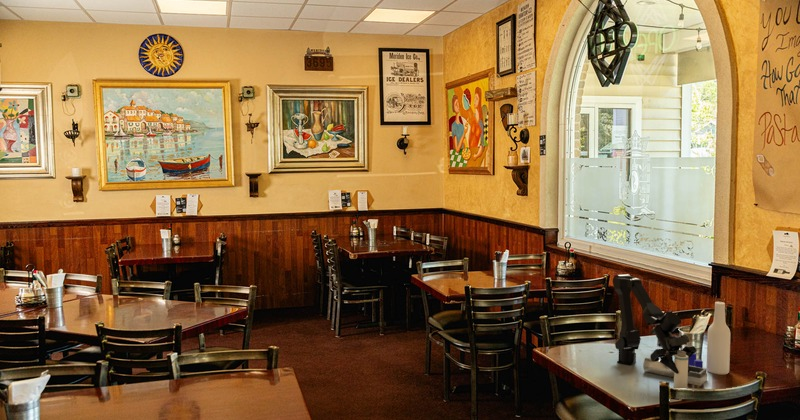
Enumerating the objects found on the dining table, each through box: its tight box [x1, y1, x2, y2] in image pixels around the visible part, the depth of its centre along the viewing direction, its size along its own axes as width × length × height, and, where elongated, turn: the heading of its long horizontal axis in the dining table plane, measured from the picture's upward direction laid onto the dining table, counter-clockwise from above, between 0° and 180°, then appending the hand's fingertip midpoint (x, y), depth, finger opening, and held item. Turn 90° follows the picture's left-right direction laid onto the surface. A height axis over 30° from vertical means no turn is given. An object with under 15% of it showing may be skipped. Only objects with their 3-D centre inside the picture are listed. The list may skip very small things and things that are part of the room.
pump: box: [673, 351, 689, 389], centre depth 263 cm, size 5×5×15 cm
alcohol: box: [705, 301, 731, 376], centre depth 282 cm, size 9×9×30 cm
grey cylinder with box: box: [642, 357, 708, 387], centre depth 277 cm, size 24×9×7 cm, turn 50°
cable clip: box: [689, 352, 704, 368], centre depth 286 cm, size 12×4×6 cm, turn 170°
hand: (683, 372), depth 262 cm, fingers closed on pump, 5 cm apart
